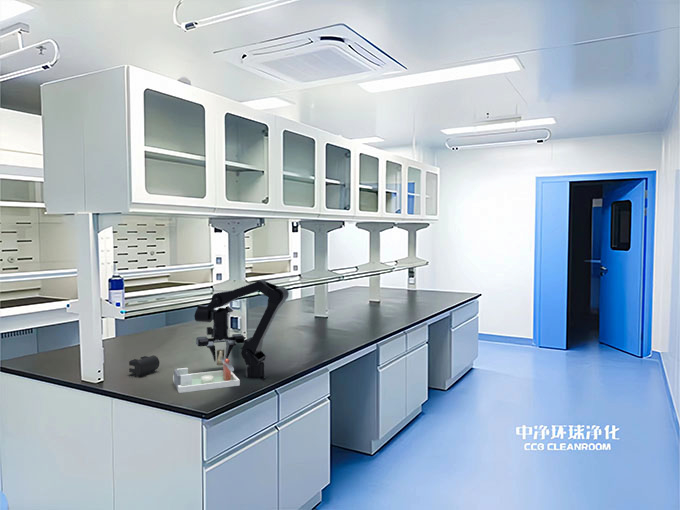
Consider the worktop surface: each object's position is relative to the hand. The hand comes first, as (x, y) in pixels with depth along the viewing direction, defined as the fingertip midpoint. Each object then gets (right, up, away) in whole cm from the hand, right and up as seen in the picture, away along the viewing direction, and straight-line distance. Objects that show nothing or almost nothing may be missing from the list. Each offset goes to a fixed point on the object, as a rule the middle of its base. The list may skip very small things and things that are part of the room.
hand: (220, 360), depth 200 cm
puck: (-2, -6, -13) cm, 15 cm away
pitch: (-2, -7, -14) cm, 15 cm away
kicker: (+4, -5, -8) cm, 10 cm away
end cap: (-32, -6, +1) cm, 32 cm away
